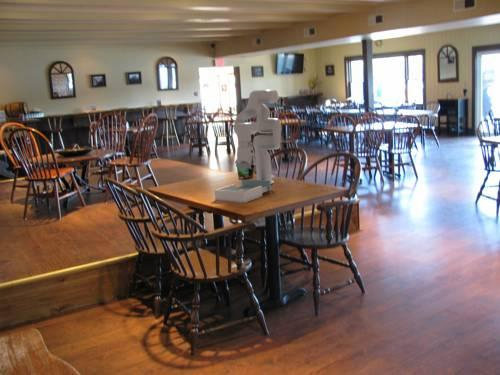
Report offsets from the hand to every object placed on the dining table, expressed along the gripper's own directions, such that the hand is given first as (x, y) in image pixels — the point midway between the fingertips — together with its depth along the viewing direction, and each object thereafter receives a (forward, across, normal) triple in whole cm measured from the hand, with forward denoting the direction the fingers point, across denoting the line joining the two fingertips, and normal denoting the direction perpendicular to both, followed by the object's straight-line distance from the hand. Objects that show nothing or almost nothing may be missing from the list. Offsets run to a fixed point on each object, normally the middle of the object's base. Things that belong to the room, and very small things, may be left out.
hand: (246, 174), depth 301 cm
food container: (+3, -1, 0) cm, 3 cm away
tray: (+11, 0, -1) cm, 11 cm away
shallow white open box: (+12, 0, +8) cm, 14 cm away
